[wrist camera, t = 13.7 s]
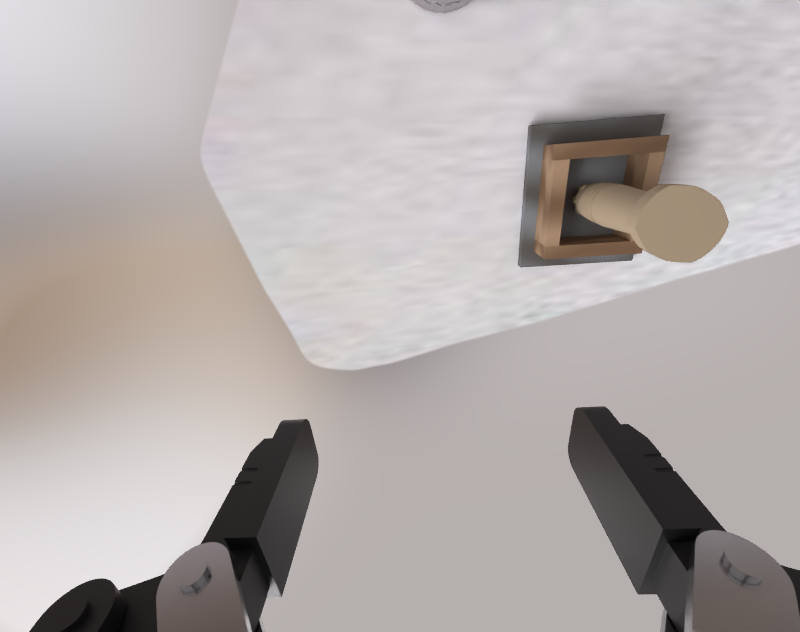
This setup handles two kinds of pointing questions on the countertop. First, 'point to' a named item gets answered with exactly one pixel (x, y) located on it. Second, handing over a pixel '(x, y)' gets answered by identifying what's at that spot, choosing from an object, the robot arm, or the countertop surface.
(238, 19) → the countertop surface
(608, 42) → the countertop surface
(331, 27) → the countertop surface
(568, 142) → the socket
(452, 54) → the countertop surface
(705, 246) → the handle
